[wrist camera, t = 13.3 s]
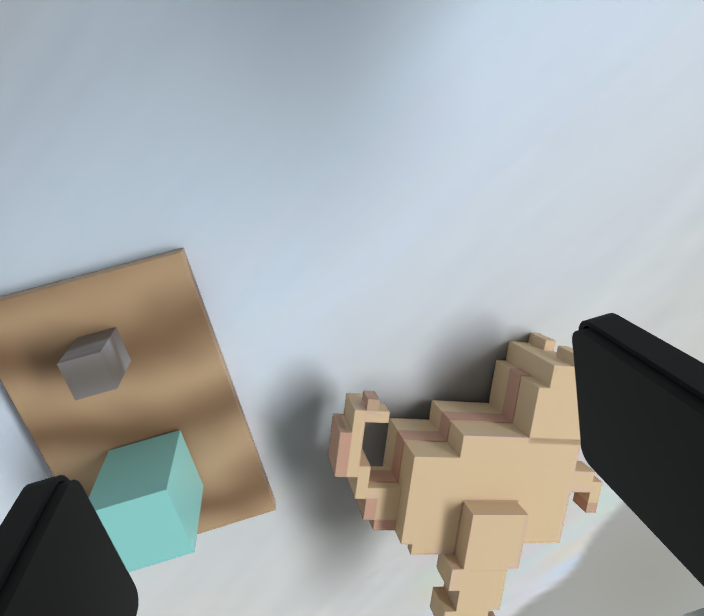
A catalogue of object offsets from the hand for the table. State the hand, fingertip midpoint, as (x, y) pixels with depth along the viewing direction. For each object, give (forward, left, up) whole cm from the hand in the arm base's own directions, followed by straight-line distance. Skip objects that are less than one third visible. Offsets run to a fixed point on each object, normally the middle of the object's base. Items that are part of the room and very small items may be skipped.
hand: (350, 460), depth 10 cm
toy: (+21, +8, -29) cm, 36 cm away
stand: (+12, -14, -28) cm, 34 cm away
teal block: (+16, -14, -27) cm, 34 cm away
